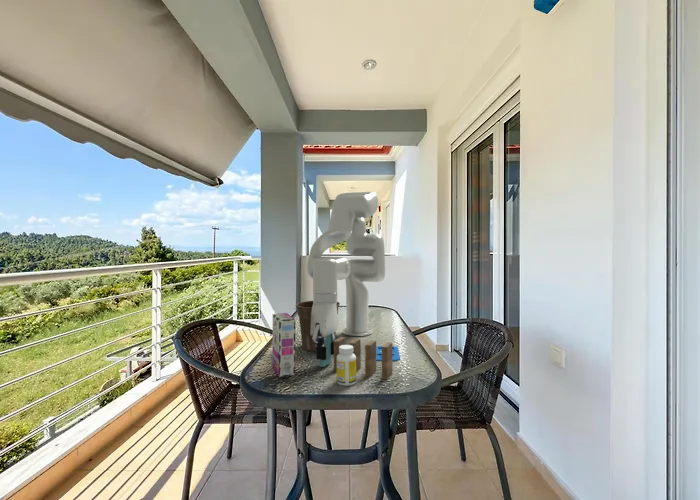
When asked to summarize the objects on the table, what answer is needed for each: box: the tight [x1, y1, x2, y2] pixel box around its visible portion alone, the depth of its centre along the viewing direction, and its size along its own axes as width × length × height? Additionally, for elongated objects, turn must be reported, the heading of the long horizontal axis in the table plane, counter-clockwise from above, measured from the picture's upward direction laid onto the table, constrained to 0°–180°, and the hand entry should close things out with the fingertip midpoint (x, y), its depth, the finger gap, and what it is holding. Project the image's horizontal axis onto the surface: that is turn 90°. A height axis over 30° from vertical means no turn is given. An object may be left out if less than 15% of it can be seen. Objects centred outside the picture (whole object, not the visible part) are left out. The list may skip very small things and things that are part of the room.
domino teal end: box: [318, 334, 333, 368], centre depth 105 cm, size 2×5×9 cm, turn 156°
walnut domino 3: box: [364, 340, 377, 378], centre depth 99 cm, size 2×5×9 cm, turn 156°
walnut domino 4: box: [381, 341, 393, 380], centre depth 97 cm, size 2×5×9 cm, turn 156°
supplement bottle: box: [336, 344, 357, 387], centre depth 93 cm, size 5×5×10 cm
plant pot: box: [295, 300, 341, 352], centre depth 125 cm, size 16×16×16 cm
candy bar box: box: [271, 312, 296, 378], centre depth 102 cm, size 11×5×16 cm, turn 23°
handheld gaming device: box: [376, 345, 401, 362], centre depth 117 cm, size 8×1×15 cm
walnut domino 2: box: [348, 338, 362, 373], centre depth 101 cm, size 2×5×9 cm, turn 156°
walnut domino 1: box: [333, 336, 347, 372], centre depth 103 cm, size 2×5×9 cm, turn 157°
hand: (325, 356), depth 105 cm, fingers closed on domino teal end, 4 cm apart
